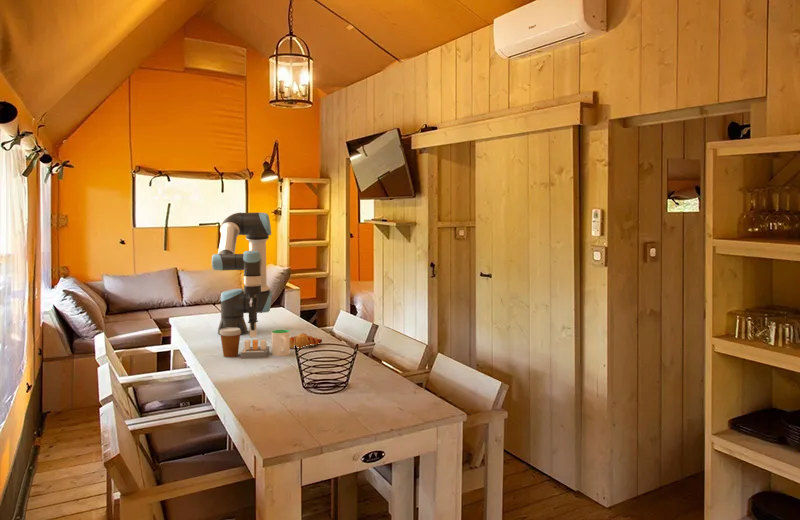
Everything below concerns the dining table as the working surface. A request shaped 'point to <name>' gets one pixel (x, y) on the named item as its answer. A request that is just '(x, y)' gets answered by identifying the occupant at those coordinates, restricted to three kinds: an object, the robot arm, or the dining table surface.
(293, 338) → the croissant
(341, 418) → the dining table surface
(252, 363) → the dining table surface
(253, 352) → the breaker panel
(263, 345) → the paddle
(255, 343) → the paddle
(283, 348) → the mug
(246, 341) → the paddle
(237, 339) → the disposable coffee cup
